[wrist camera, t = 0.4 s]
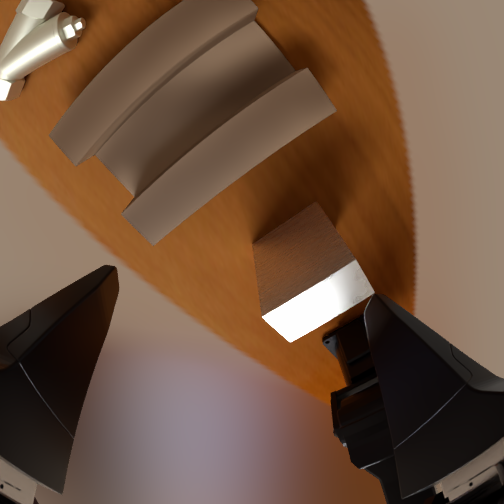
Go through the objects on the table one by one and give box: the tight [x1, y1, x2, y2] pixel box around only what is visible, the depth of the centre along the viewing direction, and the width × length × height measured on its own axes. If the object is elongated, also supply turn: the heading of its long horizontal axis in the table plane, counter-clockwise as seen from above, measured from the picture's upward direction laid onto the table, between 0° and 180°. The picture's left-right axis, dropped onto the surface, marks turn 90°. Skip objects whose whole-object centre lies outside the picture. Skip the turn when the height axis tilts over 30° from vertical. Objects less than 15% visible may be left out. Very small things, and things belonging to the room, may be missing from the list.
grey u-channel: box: [49, 0, 337, 246], centre depth 15 cm, size 10×14×4 cm
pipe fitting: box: [0, 0, 86, 101], centre depth 11 cm, size 8×4×7 cm
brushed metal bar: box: [252, 201, 375, 342], centre depth 19 cm, size 3×6×8 cm, turn 127°
